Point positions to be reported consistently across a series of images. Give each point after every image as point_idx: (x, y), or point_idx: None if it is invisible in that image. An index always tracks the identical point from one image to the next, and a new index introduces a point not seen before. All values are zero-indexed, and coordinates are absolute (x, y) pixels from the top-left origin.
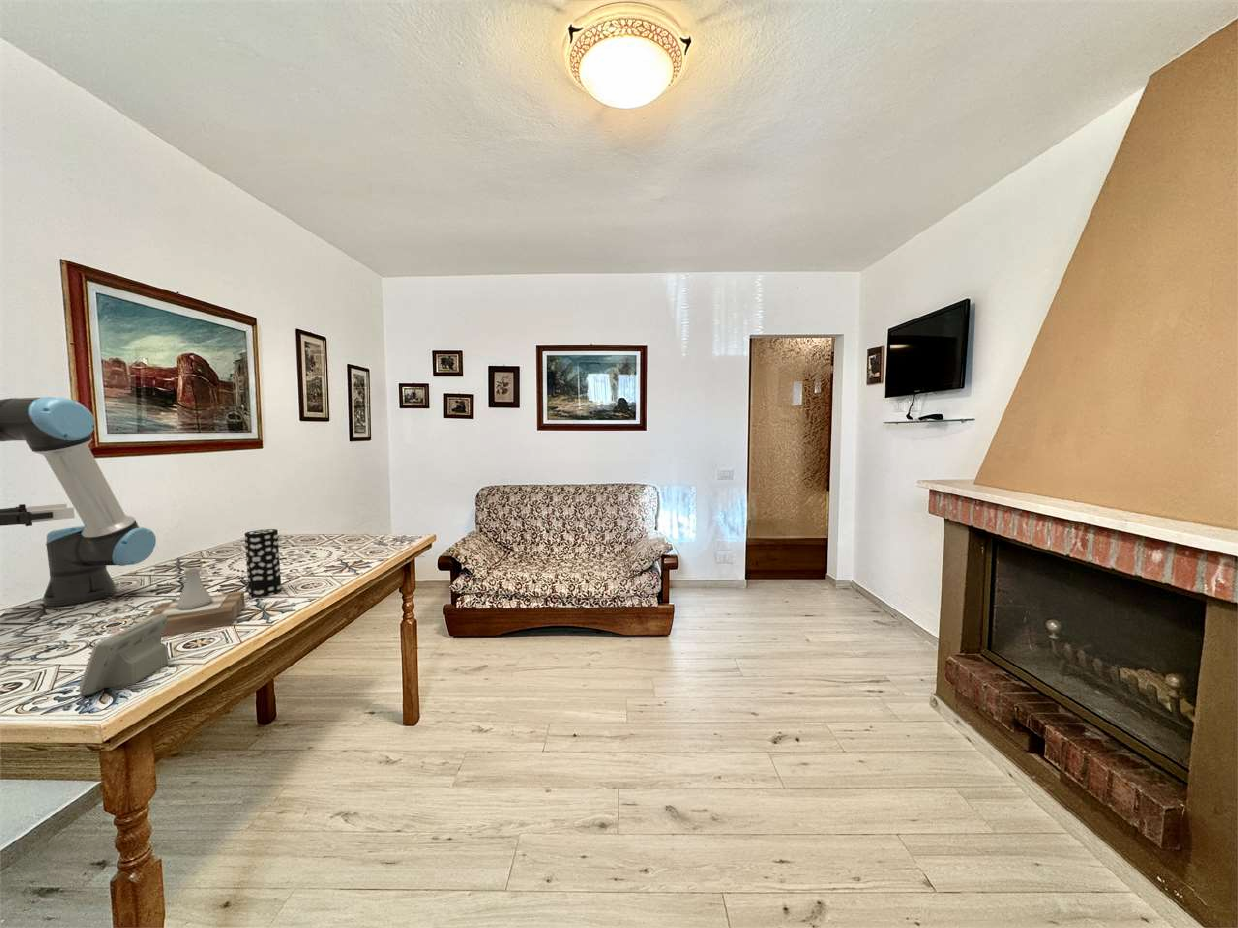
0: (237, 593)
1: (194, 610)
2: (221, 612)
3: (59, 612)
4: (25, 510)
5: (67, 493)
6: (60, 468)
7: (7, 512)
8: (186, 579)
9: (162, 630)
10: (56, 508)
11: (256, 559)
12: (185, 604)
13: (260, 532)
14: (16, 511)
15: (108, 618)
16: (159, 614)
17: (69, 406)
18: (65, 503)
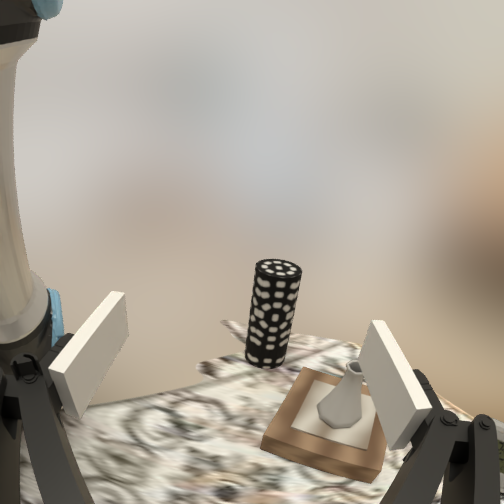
0: (310, 373)
1: (370, 417)
2: None
3: (27, 479)
4: (54, 390)
5: None
6: None
7: (71, 462)
8: (354, 385)
9: None
10: (113, 328)
11: (290, 315)
12: (356, 417)
13: (285, 269)
14: (58, 422)
15: (167, 484)
16: (494, 419)
17: None
18: (118, 293)
